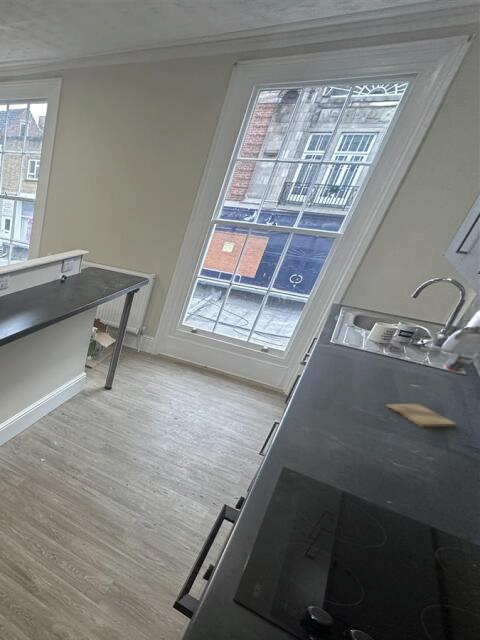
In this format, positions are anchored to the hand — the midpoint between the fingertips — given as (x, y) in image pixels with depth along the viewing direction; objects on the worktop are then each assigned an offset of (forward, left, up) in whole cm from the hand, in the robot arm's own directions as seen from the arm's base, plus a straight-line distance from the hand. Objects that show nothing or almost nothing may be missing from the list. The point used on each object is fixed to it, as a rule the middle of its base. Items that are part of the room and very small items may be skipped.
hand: (458, 363), depth 141 cm
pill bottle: (0, 0, -3) cm, 3 cm away
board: (-8, +14, -17) cm, 23 cm away
